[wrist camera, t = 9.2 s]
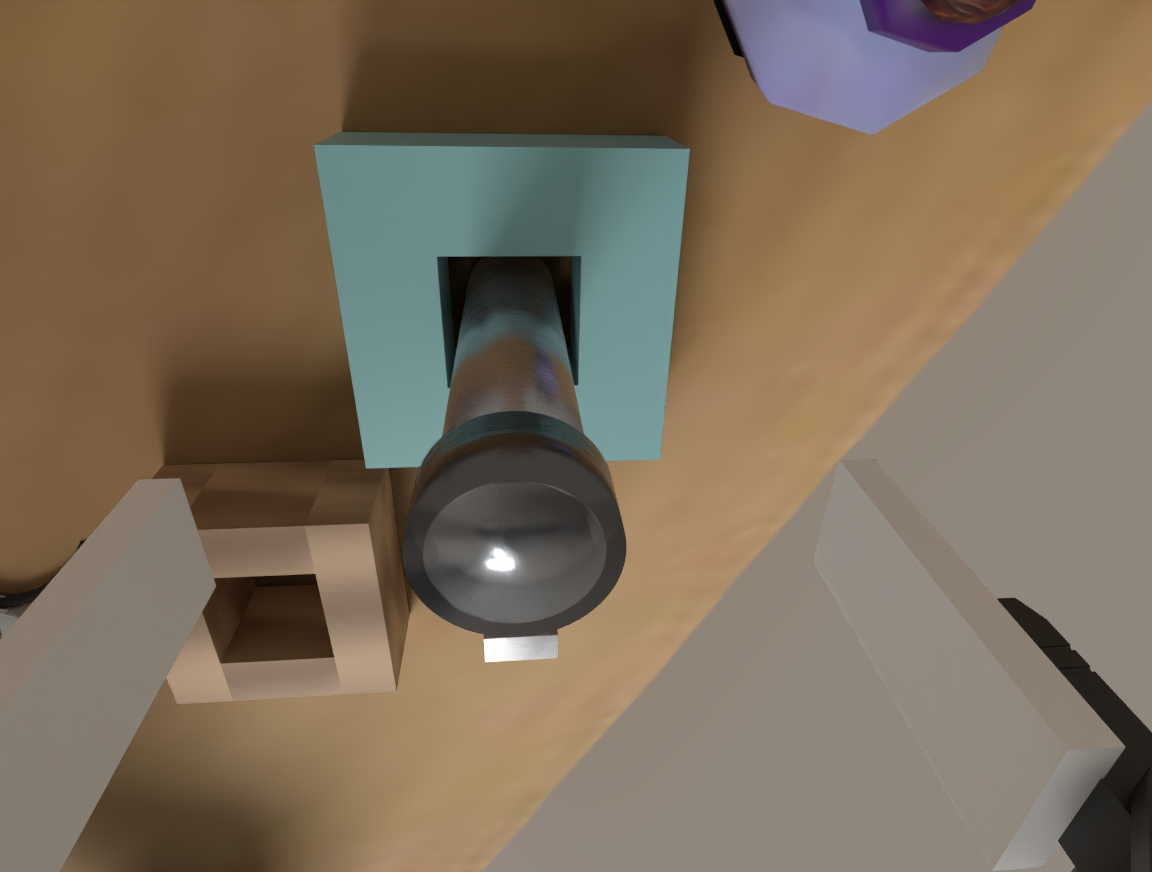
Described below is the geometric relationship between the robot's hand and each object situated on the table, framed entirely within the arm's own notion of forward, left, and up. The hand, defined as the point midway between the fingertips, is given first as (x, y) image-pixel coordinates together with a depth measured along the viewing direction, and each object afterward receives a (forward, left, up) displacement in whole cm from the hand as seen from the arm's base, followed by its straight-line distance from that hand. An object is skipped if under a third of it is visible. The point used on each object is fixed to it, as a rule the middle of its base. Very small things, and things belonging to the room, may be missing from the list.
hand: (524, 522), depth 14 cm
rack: (-13, +11, -16) cm, 24 cm away
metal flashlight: (0, 0, -16) cm, 16 cm away
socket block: (0, 0, -16) cm, 16 cm away
